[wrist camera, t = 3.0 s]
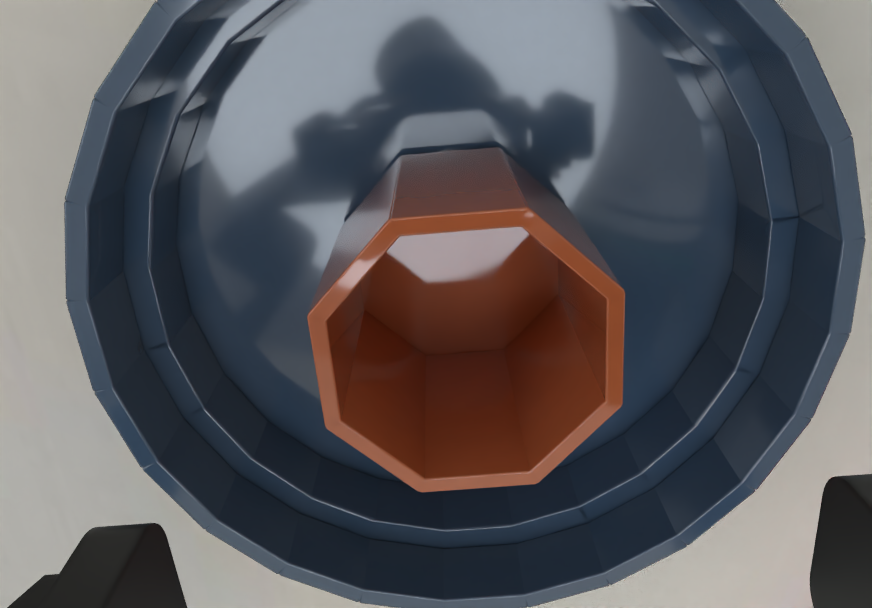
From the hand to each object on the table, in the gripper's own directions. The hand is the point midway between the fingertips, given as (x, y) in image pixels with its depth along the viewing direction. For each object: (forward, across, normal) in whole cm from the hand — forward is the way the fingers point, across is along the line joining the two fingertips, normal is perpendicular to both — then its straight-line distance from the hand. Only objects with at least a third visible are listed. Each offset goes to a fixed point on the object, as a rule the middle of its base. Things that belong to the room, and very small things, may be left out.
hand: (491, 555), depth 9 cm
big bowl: (+12, 0, 0) cm, 12 cm away
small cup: (+11, 0, 0) cm, 11 cm away
